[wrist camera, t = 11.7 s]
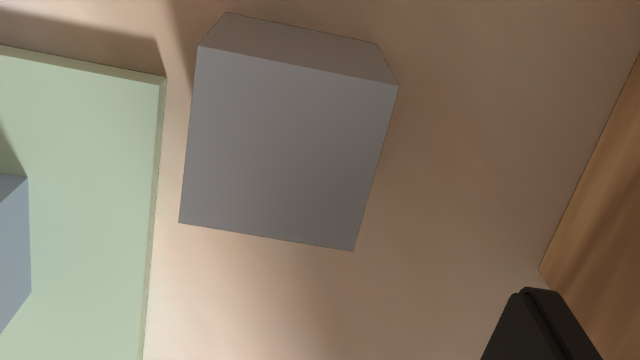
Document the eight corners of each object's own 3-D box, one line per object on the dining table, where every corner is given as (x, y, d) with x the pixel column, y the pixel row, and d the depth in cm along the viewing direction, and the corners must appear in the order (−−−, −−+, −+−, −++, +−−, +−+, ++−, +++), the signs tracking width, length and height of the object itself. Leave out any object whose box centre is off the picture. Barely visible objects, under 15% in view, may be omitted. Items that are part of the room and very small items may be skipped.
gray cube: (376, 43, 21) (399, 86, 16) (342, 176, 24) (352, 251, 19) (226, 11, 21) (197, 45, 15) (208, 151, 23) (178, 222, 18)
